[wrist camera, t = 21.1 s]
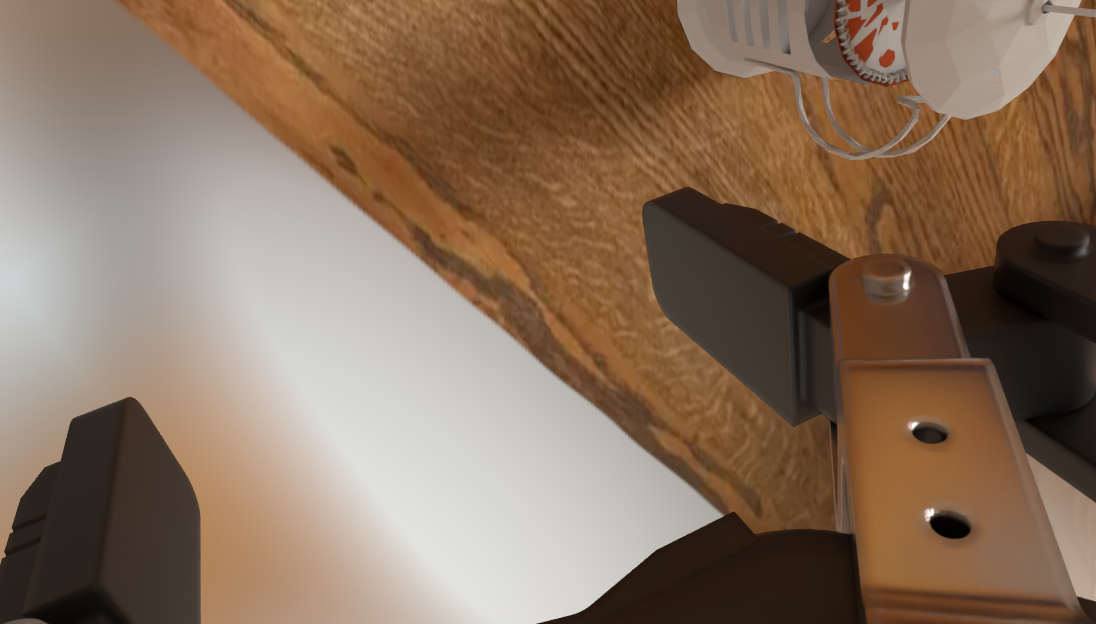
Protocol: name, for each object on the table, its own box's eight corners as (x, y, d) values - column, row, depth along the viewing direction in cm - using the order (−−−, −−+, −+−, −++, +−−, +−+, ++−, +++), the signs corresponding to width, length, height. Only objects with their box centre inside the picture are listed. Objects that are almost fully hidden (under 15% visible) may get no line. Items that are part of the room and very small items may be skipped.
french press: (862, -129, 37) (1674, -182, 17) (811, 110, 42) (1384, 295, 22) (691, -150, 34) (1456, -250, 13) (658, 114, 39) (1170, 339, 18)
